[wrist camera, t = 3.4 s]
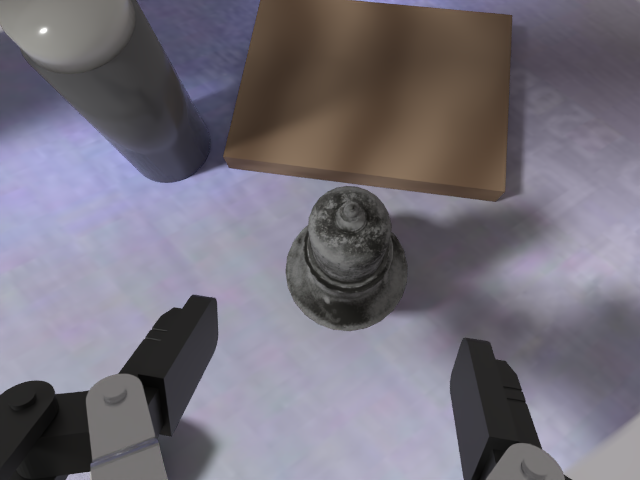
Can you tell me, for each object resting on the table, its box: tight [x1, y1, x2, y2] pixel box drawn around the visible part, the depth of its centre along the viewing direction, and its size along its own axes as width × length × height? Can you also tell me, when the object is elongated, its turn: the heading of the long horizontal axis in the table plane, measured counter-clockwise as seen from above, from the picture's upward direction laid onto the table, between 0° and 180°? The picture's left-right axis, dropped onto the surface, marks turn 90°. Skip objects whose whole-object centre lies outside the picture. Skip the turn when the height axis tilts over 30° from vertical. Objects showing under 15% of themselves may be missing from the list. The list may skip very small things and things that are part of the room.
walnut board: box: [223, 0, 512, 202], centre depth 27 cm, size 16×12×2 cm
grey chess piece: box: [286, 186, 407, 331], centre depth 19 cm, size 6×6×12 cm
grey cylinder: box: [0, 0, 210, 183], centre depth 22 cm, size 5×5×11 cm
